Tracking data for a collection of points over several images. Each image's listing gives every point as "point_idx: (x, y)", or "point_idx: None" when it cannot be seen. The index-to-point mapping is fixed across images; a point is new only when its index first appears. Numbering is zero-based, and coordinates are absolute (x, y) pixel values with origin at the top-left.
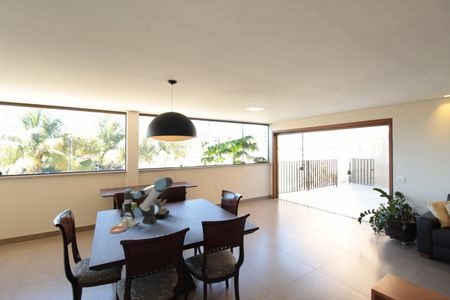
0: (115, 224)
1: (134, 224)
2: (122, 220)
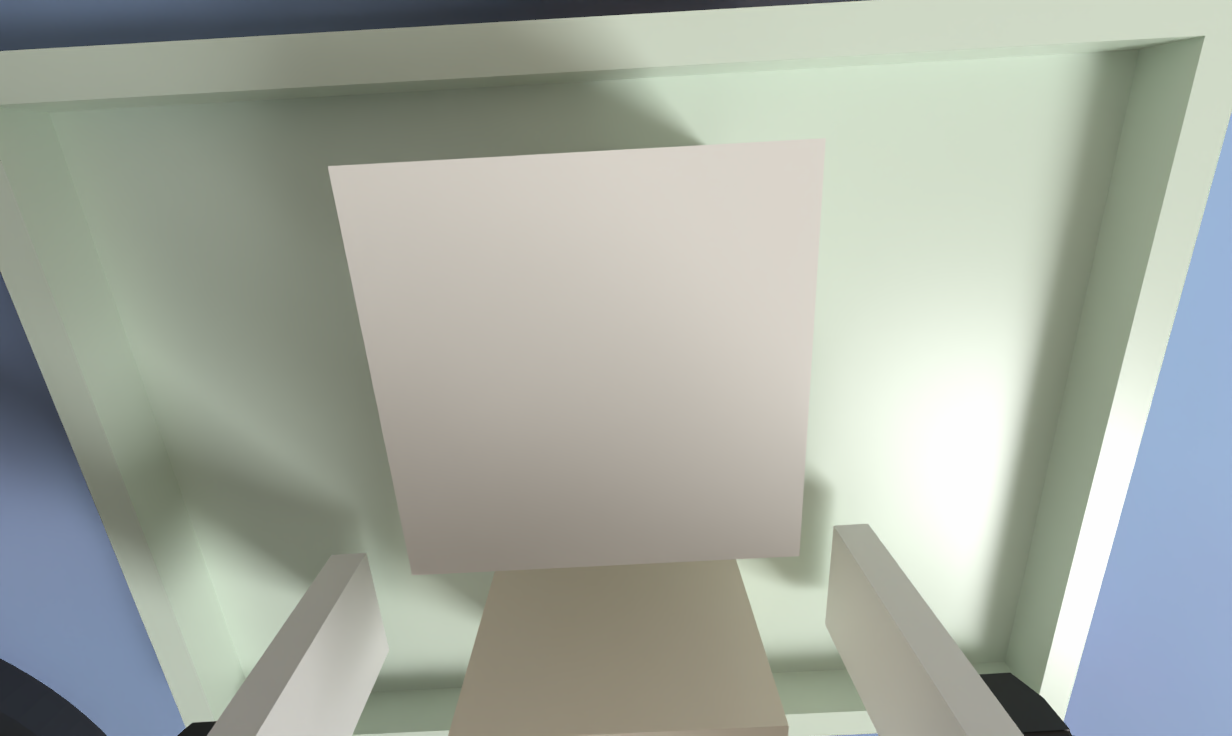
0: (1188, 247)
1: (37, 353)
2: (795, 260)
